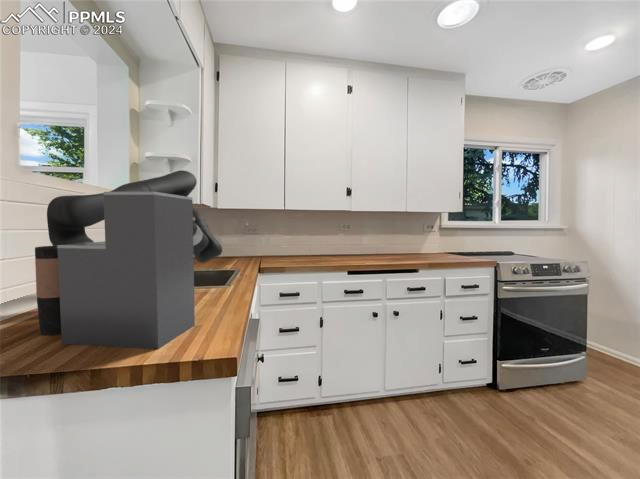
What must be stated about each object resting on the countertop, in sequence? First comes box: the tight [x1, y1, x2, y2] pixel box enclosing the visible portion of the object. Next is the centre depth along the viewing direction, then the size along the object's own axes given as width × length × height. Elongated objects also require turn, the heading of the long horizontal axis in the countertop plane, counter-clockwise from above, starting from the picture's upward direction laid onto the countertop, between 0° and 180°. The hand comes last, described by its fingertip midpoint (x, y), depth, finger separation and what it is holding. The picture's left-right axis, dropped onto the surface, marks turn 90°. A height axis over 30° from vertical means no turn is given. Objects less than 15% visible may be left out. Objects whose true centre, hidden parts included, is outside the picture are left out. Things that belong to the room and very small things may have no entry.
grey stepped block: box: [57, 191, 196, 350], centre depth 67 cm, size 22×14×32 cm, turn 84°
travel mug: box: [34, 245, 61, 336], centre depth 70 cm, size 8×8×20 cm
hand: (157, 202), depth 84 cm, fingers closed on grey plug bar, 3 cm apart
